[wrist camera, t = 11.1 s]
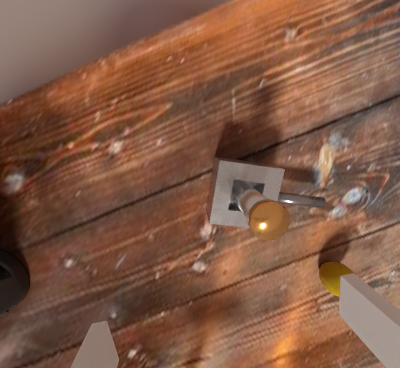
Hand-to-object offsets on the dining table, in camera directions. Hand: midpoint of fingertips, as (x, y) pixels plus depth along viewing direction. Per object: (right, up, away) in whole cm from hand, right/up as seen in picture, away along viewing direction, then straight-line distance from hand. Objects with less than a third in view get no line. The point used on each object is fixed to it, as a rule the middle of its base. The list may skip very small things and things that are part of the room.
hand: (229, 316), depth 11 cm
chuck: (+11, +6, +29) cm, 31 cm away
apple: (+27, -12, +34) cm, 45 cm away
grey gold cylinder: (+6, +6, +26) cm, 27 cm away
